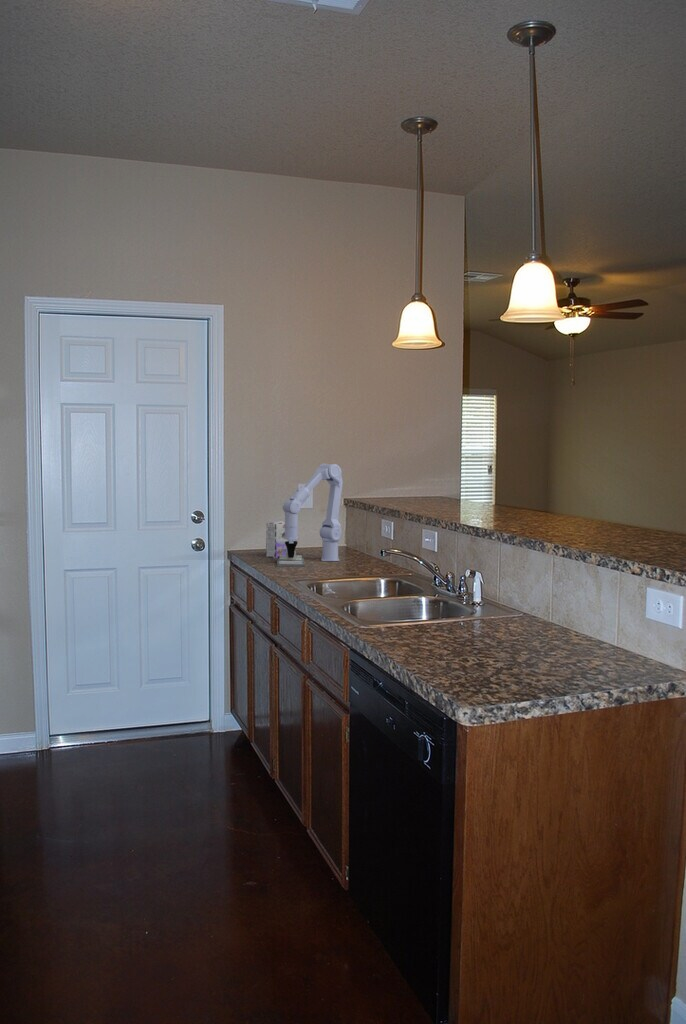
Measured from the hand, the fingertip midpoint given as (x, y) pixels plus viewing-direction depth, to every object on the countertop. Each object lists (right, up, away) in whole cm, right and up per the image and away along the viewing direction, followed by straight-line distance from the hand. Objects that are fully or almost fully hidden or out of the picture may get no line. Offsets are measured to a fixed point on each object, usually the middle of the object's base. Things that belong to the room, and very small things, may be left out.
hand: (290, 557), depth 352 cm
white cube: (0, -1, +4) cm, 4 cm away
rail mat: (0, -3, +2) cm, 3 cm away
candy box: (-7, -1, +22) cm, 23 cm away
